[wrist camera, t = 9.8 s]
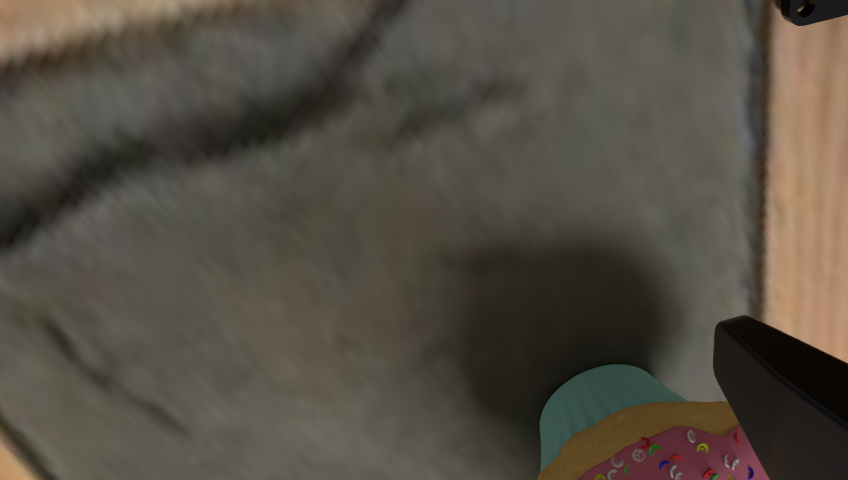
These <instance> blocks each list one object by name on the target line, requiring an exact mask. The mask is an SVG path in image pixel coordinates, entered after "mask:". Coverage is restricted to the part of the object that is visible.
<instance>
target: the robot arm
mask: <svg viewBox="0 0 848 480" xmlns="http://www.w3.org/2000/svg"><path fill="white" fill-rule="evenodd" d="M803 1H804V0H782V1H781V14H782V16H783V17H784V19H785V20H787V21H789V22H791V23H793V24H795V25H797V26H805V25H809V24H813V23H817V22H821V21H825V20H829V19H833V18H837V17H841V16H845V15H848V0H806V1H807V2H806V5H805V7H804V8H803V9H802V10H801V11H800V12H798V8H799V5H800V4H801V3H802V2H803ZM713 369H714V374H715V377H716V379H717V382H718V384H719V386H720V388H721V390H722V391H723V393H724V395H725V397H726V399H727V401H728V403H729V405H730V407H731V409H732V410H733V412H734V414H735V416H736V418H737V420H738V422H739V424H740V426H741V428H742V429H743V431H744V433H745V435H746V437H747V439H748V441H749V443H750V445H751V447H752V448H753V450H754V452H755V454H756V456H757V458H758V460H759V462H760V464H761V465H762V467H763V469H764V471H765V472H766V474H767V476H768V478H769V479H770V480H848V363H846V362H844V361H842V360H840V359H838V358H836V357H834V356H832V355H830V354H828V353H825V352H823V351H821V350H819V349H817V348H815V347H813V346H811V345H809V344H807V343H805V342H803V341H801V340H799V339H796V338H794V337H792V336H790V335H788V334H786V333H784V332H782V331H780V330H778V329H776V328H774V327H772V326H769V325H767V324H765V323H763V322H761V321H759V320H757V319H755V318H753V317H750V316H746V315H742V316H738V317H734V318H731V319H727V320H724V321H721V322H719V323H718V324H717V325H716V327H715V336H714V354H713Z"/></svg>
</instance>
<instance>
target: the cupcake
mask: <svg viewBox="0 0 848 480" xmlns="http://www.w3.org/2000/svg"><path fill="white" fill-rule="evenodd" d="M540 437H541V469H540V474H539V475H538V477H537V480H770V479H769V478H768V476H767V474H766V472H765V471H764V469H763V467H762V465H761V464H760V462H759V460H758V458H757V456H756V454H755V452H754V450H753V448H752V447H751V445H750V443H749V441H748V439H747V437H746V435H745V433H744V431H743V429H742V428H741V426H740V424H739V422H738V420H737V418H736V416H735V414H734V412H733V410H732V409H731V407H730V405H729V403H728V402H724V401H719V402H691V401H690V402H688V401H687V400H685V399H683V398H682V397H680V396H679V395H677V394H676V393H674V392H673V391H671V390H670V389H668V388H667V387H666V386H664V385H663V384H662V383H660V382H659V381H658V380H656V379H655V378H654V377H653V376H651V375H650V374H649V373H648V372H646V371H644V370H642V369H640V368H638V367H635V366H631V365H623V364H613V365H605V366H600V367H596V368H593V369H590V370H587V371H585V372H583V373H580V374H578V375H577V376H575V377H573V378H572V379H570V380H568V381H567V382H566V383H564V384H563V385H562V386H561V387H560V388H559V389H558V390H557V391H556V392H555V393H554V394H553V395H552V396H551V397H550V399H549V400H548V402H547V403H546V405H545V407H544V409H543V411H542V414H541V418H540Z"/></svg>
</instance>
